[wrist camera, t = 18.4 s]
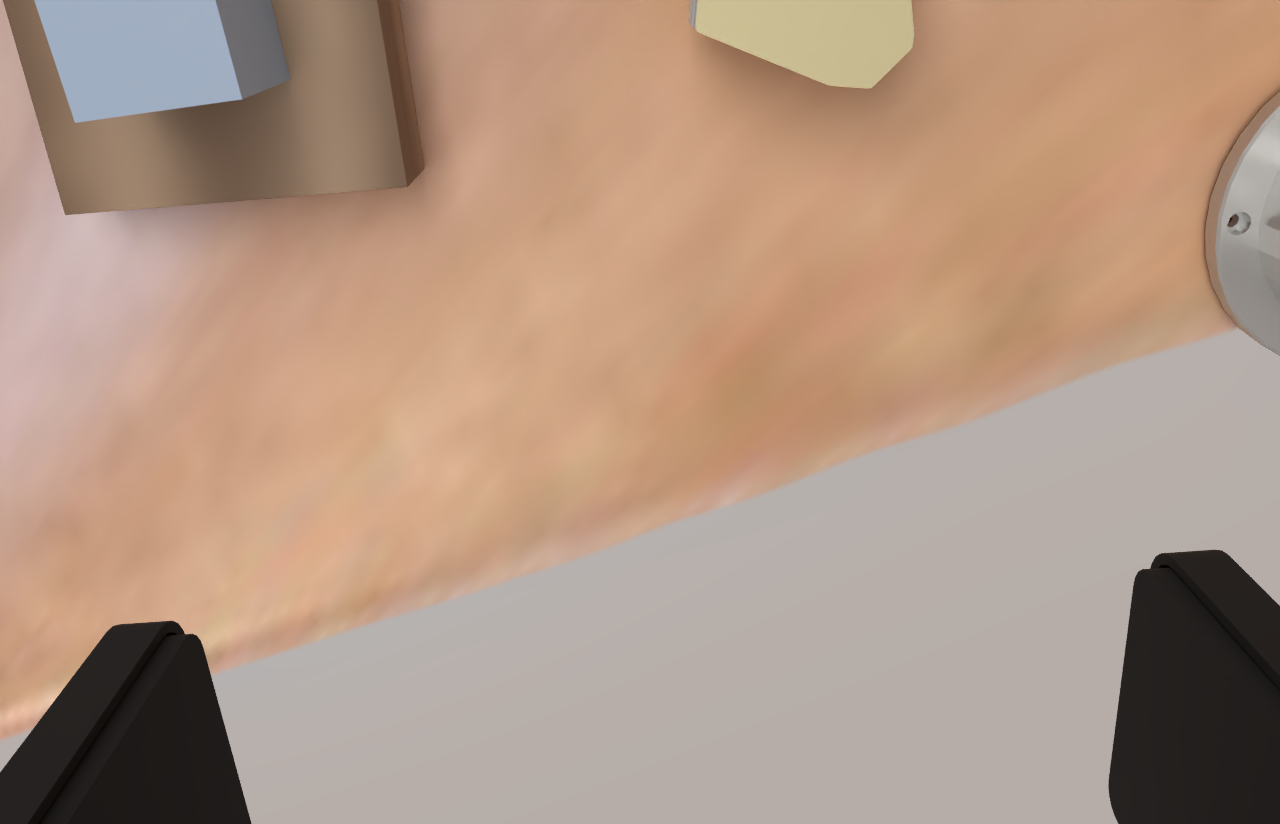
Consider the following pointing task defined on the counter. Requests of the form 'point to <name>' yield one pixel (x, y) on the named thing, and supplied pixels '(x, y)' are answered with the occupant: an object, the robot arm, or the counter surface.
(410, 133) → the walnut block
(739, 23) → the stacked layers on plate
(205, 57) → the slate cube
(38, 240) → the counter surface
